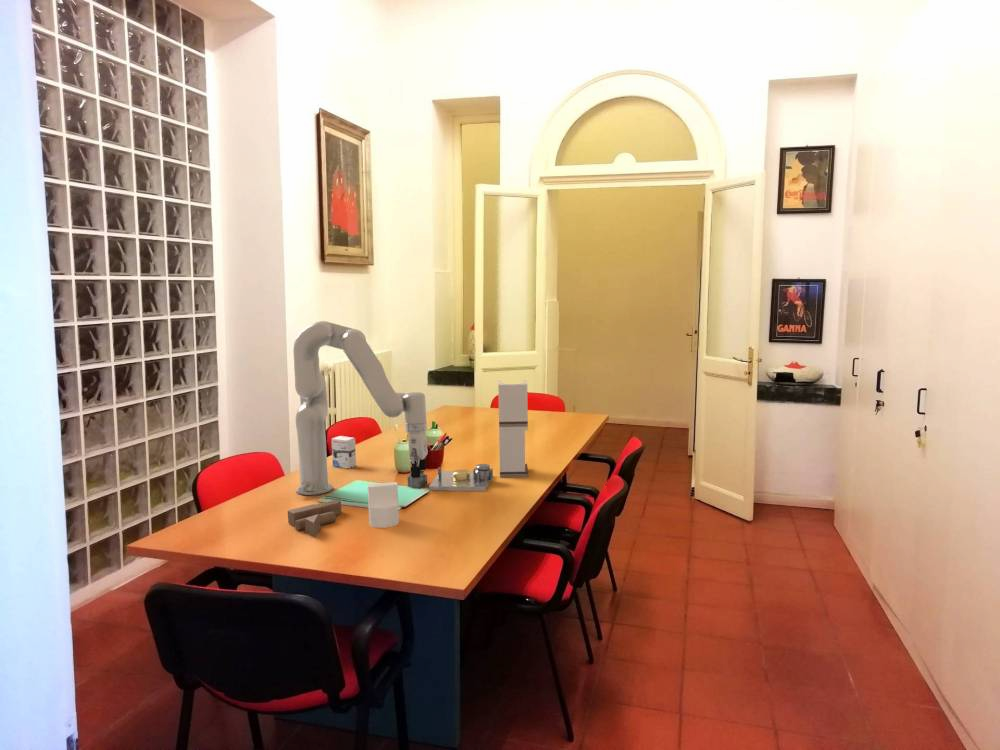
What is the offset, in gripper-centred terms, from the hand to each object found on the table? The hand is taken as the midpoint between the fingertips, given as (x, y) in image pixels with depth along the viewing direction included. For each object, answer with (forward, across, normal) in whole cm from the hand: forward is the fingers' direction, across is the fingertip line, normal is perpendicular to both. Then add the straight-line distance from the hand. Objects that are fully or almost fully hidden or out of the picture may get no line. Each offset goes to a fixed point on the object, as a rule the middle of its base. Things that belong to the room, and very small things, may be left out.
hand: (418, 473), depth 251 cm
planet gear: (+4, 0, +1) cm, 4 cm away
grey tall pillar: (+5, +18, -33) cm, 38 cm away
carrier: (+5, +4, -15) cm, 16 cm away
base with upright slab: (+4, -40, +2) cm, 40 cm away
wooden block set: (+4, -42, +20) cm, 47 cm away
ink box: (+4, +25, +36) cm, 44 cm away
